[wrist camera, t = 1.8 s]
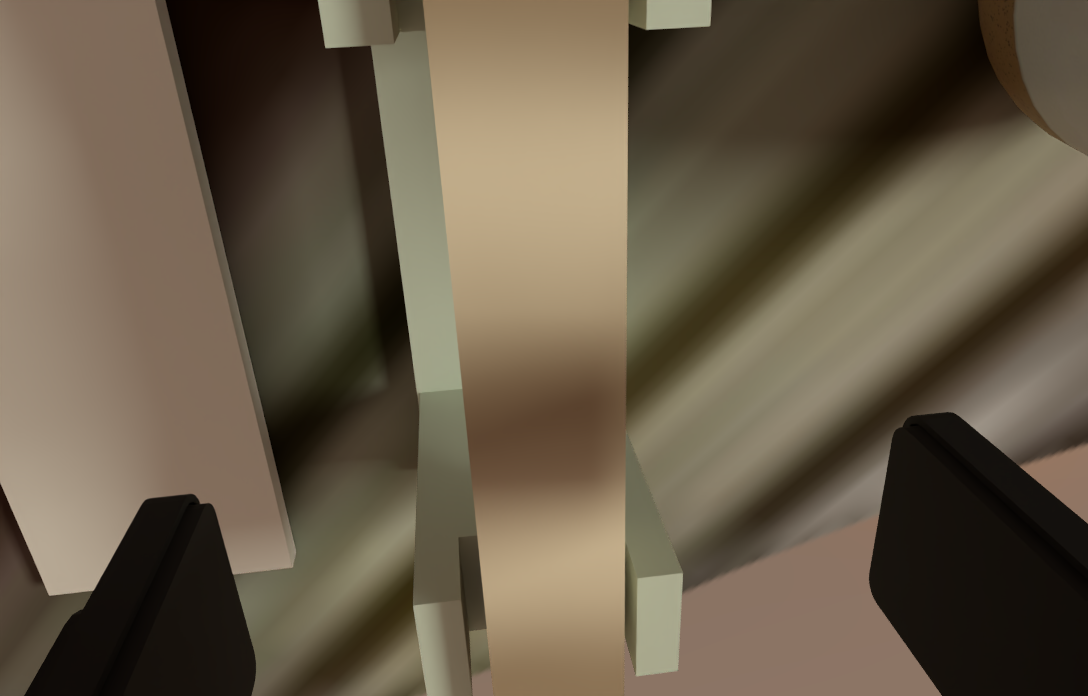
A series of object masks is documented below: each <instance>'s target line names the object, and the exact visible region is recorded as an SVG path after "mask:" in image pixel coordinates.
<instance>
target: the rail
mask: <svg viewBox="0 0 1088 696" xmlns="http://www.w3.org/2000/svg"><path fill="white" fill-rule="evenodd" d="M423 8H424V18H425V28H426V38H427V47H428V57H429V67H430V77H431V87H432V96H433V106H434V116H435V126H436V136H437V145H438V155H439V165H440V175H441V185H442V195H443V204H444V214H445V224H446V234H447V244H448V253H449V263H450V273H451V283H452V293H453V302H454V312H455V322H456V332H457V342H458V351H459V361H460V371H461V381H462V391H463V401H464V410H465V420H466V430H467V440H468V450H469V459H470V469H471V479H472V489H473V499H474V508H475V518H476V528H477V538H478V548H479V557H480V567H481V577H482V587H483V597H484V607H485V616H486V626H487V636H488V646H489V656H490V665H491V675H492V685H493V695H494V696H624V635H625V480H626V325H627V171H628V16H629V0H423Z"/></svg>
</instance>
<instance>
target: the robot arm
mask: <svg viewBox="0 0 1088 696" xmlns="http://www.w3.org/2000/svg"><path fill="white" fill-rule="evenodd" d="M869 583H870V588H871V592H872V595H873V597H874V599H875V601H876V603H877V604H878V606H879V607H880V609H881V610H882V611H883V613H884V614H885V616H886V617H887V618H888V620H889V621H890V623H891V624H892V626H893V627H894V628H895V630H896V631H897V633H898V634H899V635H900V637H901V638H902V639H903V641H904V642H905V643H906V645H907V647H908V648H909V649H910V651H911V652H912V654H913V655H914V657H915V658H916V659H917V661H918V662H919V664H920V665H921V666H922V668H923V669H924V671H925V672H926V674H927V675H928V676H929V678H930V679H931V680H932V682H933V683H934V685H935V686H936V688H937V689H938V690H939V692H940V693H941V695H942V696H1088V524H1087V523H1086V522H1085V521H1084V520H1083V519H1081V518H1080V517H1079V516H1078V515H1077V514H1075V513H1074V512H1073V511H1072V510H1071V509H1069V508H1068V507H1067V506H1066V505H1065V504H1063V503H1062V502H1061V501H1060V500H1059V499H1057V498H1056V497H1055V496H1054V495H1053V494H1052V493H1050V492H1049V491H1048V490H1047V489H1045V488H1044V487H1043V486H1042V485H1041V484H1039V483H1038V482H1037V481H1036V480H1035V479H1034V478H1032V477H1031V476H1030V475H1029V474H1028V473H1026V472H1025V471H1024V470H1023V469H1022V468H1020V467H1019V466H1018V465H1017V464H1016V463H1014V462H1013V461H1012V460H1011V459H1010V458H1008V457H1007V456H1006V455H1005V454H1004V453H1002V452H1001V451H1000V450H999V449H998V448H996V447H995V446H994V445H993V444H992V443H990V442H989V441H988V440H987V439H986V438H985V437H983V436H982V435H981V434H980V433H979V432H977V431H976V430H975V429H974V428H973V427H971V426H970V425H969V424H968V423H967V422H965V421H964V420H963V419H962V418H961V417H959V416H958V415H956V414H954V413H951V412H945V413H936V414H926V415H917V416H911V417H909V418H907V420H906V421H905V423H904V425H903V427H901V428H898V429H896V431H895V432H894V434H893V438H892V443H891V449H890V455H889V461H888V467H887V473H886V479H885V485H884V490H883V496H882V502H881V508H880V514H879V520H878V526H877V532H876V537H875V543H874V549H873V555H872V561H871V567H870V573H869ZM255 675H256V660H255V654H254V649H253V646H252V642H251V639H250V635H249V631H248V628H247V624H246V620H245V617H244V613H243V609H242V606H241V602H240V599H239V595H238V591H237V588H236V584H235V580H234V577H233V573H232V569H231V566H230V562H229V559H228V555H227V551H226V548H225V544H224V540H223V537H222V533H221V529H220V526H219V522H218V519H217V515H216V512H215V509H214V507H213V505H212V504H210V503H204V504H200V502H199V499H198V498H197V497H196V495H194V494H184V495H175V496H165V497H156V498H149V499H146V500H145V501H144V502H143V503H142V505H141V506H140V508H139V510H138V512H137V513H136V515H135V517H134V519H133V521H132V522H131V524H130V526H129V528H128V530H127V531H126V533H125V535H124V537H123V539H122V540H121V542H120V544H119V546H118V548H117V549H116V551H115V553H114V555H113V557H112V558H111V560H110V562H109V564H108V566H107V567H106V569H105V571H104V573H103V575H102V576H101V578H100V580H99V582H98V584H97V585H96V587H95V589H94V591H93V593H92V594H91V596H90V598H89V600H88V602H87V603H86V605H85V607H84V609H83V610H80V611H78V612H76V613H75V614H73V615H72V616H71V617H70V619H69V620H68V621H67V623H66V624H65V625H64V627H63V629H62V631H61V632H60V634H59V636H58V638H57V639H56V641H55V643H54V645H53V646H52V648H51V650H50V652H49V653H48V655H47V657H46V659H45V660H44V662H43V664H42V666H41V667H40V669H39V671H38V673H37V674H36V676H35V678H34V680H33V681H32V683H31V685H30V687H29V688H28V690H27V692H26V694H25V695H24V696H251V695H252V691H253V687H254V682H255Z"/></svg>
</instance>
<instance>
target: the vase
mask: <svg viewBox="0 0 1088 696" xmlns="http://www.w3.org/2000/svg"><path fill="white" fill-rule="evenodd" d="M978 9H979V21H980V28H981V32H982V36H983V39H984V43H985V47H986V51H987V55H988V58H989V61H990V63H991V65H992V67H993V69H994V72H995V74H996V76H997V78H998V80H999V82H1000V83H1001V84H1002V86H1003V87H1004V89H1005V90H1006V91H1007V93H1008V94H1009V96H1010V97H1011V98H1012V100H1013V101H1014V102H1015V104H1016V105H1017V107H1018V108H1019V109H1020V110H1021V111H1022V112H1023V113H1025V114H1026V115H1027V116H1028V117H1029V118H1030V119H1031V120H1032V121H1033V122H1035V123H1036V124H1037V125H1038V126H1039V127H1041V128H1042V129H1043V130H1044V131H1046V132H1047V133H1048V134H1049V135H1051V136H1053V137H1055V138H1057V139H1058V140H1060V141H1062V142H1064V143H1066V144H1067V145H1069V146H1071V147H1073V148H1074V149H1076V150H1078V151H1080V152H1082V153H1084V154H1085V155H1087V156H1088V0H978Z"/></svg>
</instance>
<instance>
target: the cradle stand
mask: <svg viewBox="0 0 1088 696" xmlns="http://www.w3.org/2000/svg"><path fill="white" fill-rule="evenodd" d="M711 2H712V0H629V16H628V23H629V24H632V25H634V26H637V27H640V28H643V29H645V30H653V29H671V28H688V27H706V26H710V22H711ZM318 4H319V10H320V17H321V23H322V29H323V36H324V42H325V48H337V47H354V46H371V50H372V57H373V65H374V72H375V80H376V88H377V95H378V103H379V110H380V118H381V125H382V133H383V140H384V148H385V156H386V163H387V171H388V178H389V186H390V193H391V201H392V208H393V216H394V224H395V231H396V239H397V246H398V254H399V261H400V269H401V276H402V284H403V292H404V299H405V307H406V314H407V322H408V329H409V337H410V344H411V352H412V360H413V367H414V375H415V382H416V390H417V397H418V405H419V412H420V413H419V443H418V473H417V502H416V532H415V562H414V591H413V609H414V615H415V621H416V628H417V634H418V640H419V647H420V653H421V660H422V666H423V672H424V679H425V685H426V691H427V696H472V678H471V658H470V638H469V631H473V630H481V629H487V626H486V616H485V607H484V597H483V587H482V577H481V567H480V557H479V548H478V538H477V528H476V518H475V508H474V499H473V489H472V479H471V469H470V459H469V450H468V440H467V430H466V420H465V410H464V401H463V391H462V381H461V371H460V361H459V351H458V342H457V332H456V322H455V312H454V302H453V293H452V283H451V273H450V263H449V253H448V244H447V234H446V224H445V214H444V204H443V195H442V185H441V175H440V165H439V155H438V145H437V136H436V126H435V116H434V106H433V96H432V87H431V77H430V67H429V57H428V47H427V38H426V28H425V18H424V8H423V0H318ZM682 580H683V572H682V570H681V567H680V564H679V562H678V559H677V557H676V554H675V552H674V549H673V547H672V544H671V542H670V539H669V537H668V534H667V532H666V529H665V527H664V524H663V522H662V519H661V517H660V514H659V512H658V509H657V507H656V504H655V502H654V499H653V497H652V494H651V492H650V489H649V487H648V484H647V482H646V479H645V477H644V474H643V472H642V469H641V467H640V464H639V462H638V459H637V457H636V454H635V452H634V449H633V447H632V444H631V442H630V439H629V437H628V434H627V432H626V480H625V639H626V642H627V646H628V649H629V653H630V656H631V660H632V664H633V667H634V671H635V675H636V676H641V675H650V674H657V673H664V672H672V671H678V660H679V639H680V620H681V600H682Z"/></svg>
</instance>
